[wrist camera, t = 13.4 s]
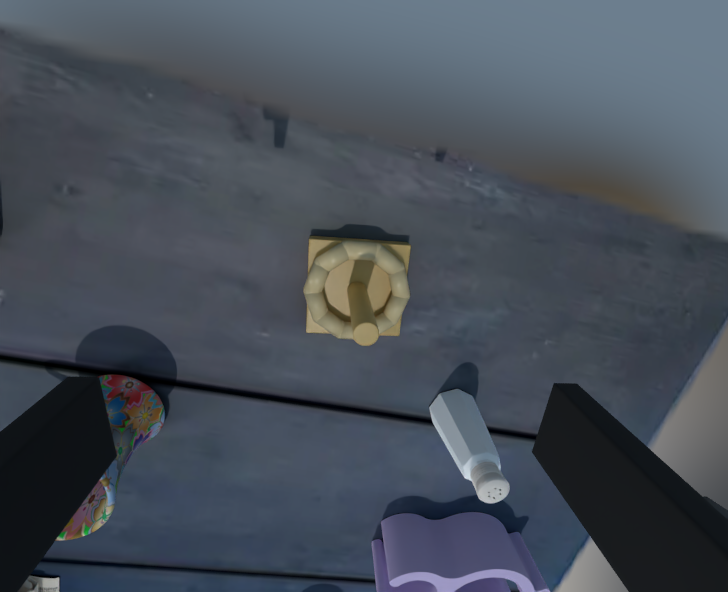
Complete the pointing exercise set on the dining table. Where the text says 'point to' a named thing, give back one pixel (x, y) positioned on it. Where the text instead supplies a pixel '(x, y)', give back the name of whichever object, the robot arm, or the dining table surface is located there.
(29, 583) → the newspaper
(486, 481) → the pepper shaker
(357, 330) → the square plate with peg
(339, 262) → the ring
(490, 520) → the clip
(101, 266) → the dining table surface
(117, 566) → the dining table surface
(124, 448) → the mug
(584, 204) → the dining table surface
